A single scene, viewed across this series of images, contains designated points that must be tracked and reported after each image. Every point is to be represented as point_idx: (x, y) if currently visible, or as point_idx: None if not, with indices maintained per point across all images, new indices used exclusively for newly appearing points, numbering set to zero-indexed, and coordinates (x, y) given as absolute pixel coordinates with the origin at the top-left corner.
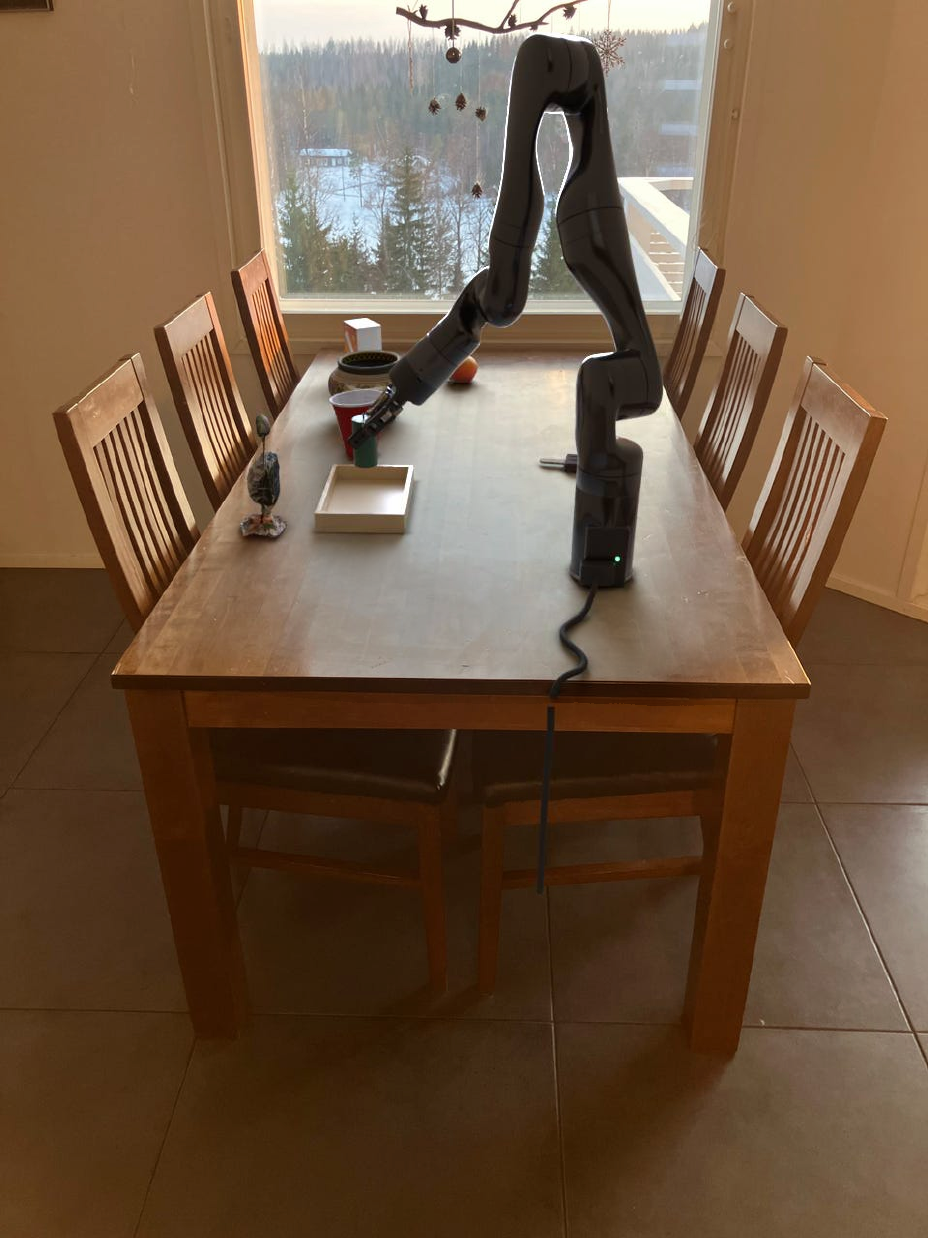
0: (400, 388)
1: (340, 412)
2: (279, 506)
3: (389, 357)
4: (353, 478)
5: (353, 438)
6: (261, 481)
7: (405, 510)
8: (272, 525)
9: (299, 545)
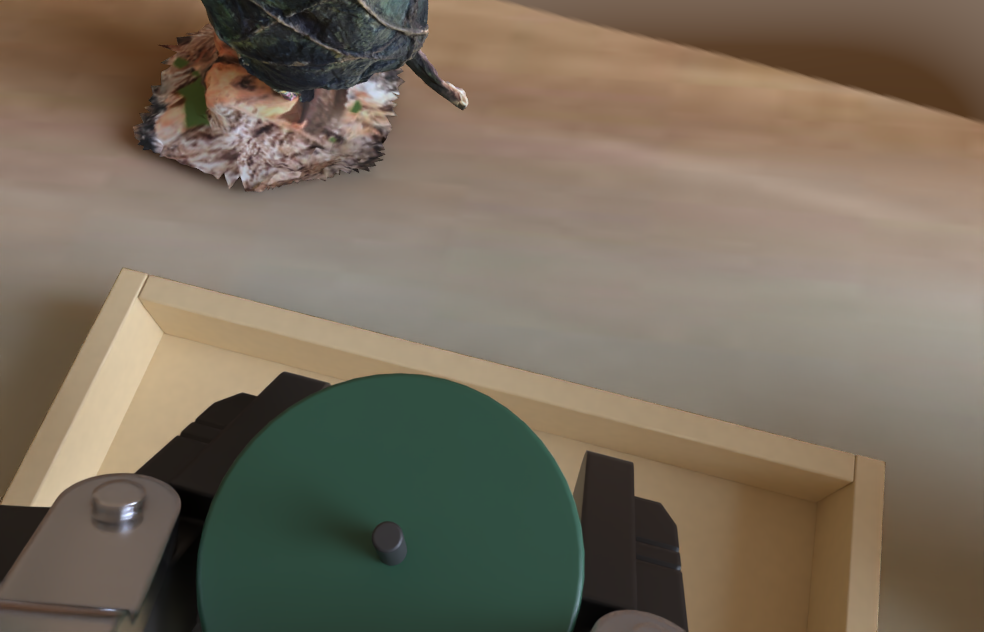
0: None
1: None
2: (523, 191)
3: None
4: (810, 604)
5: (203, 417)
6: None
7: None
8: (202, 114)
9: (39, 231)
